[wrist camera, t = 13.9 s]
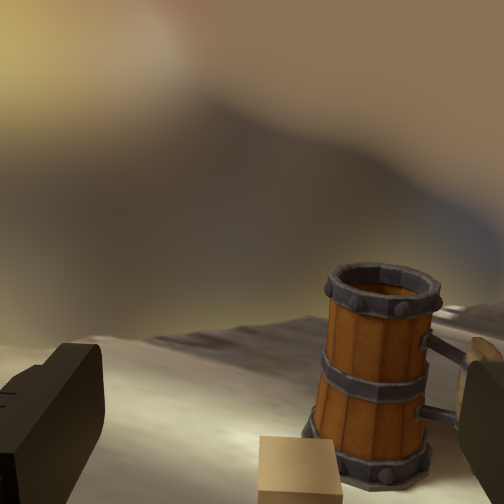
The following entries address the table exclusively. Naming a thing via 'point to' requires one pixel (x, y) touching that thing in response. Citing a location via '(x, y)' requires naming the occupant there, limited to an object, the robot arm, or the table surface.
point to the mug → (383, 374)
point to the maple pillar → (298, 471)
